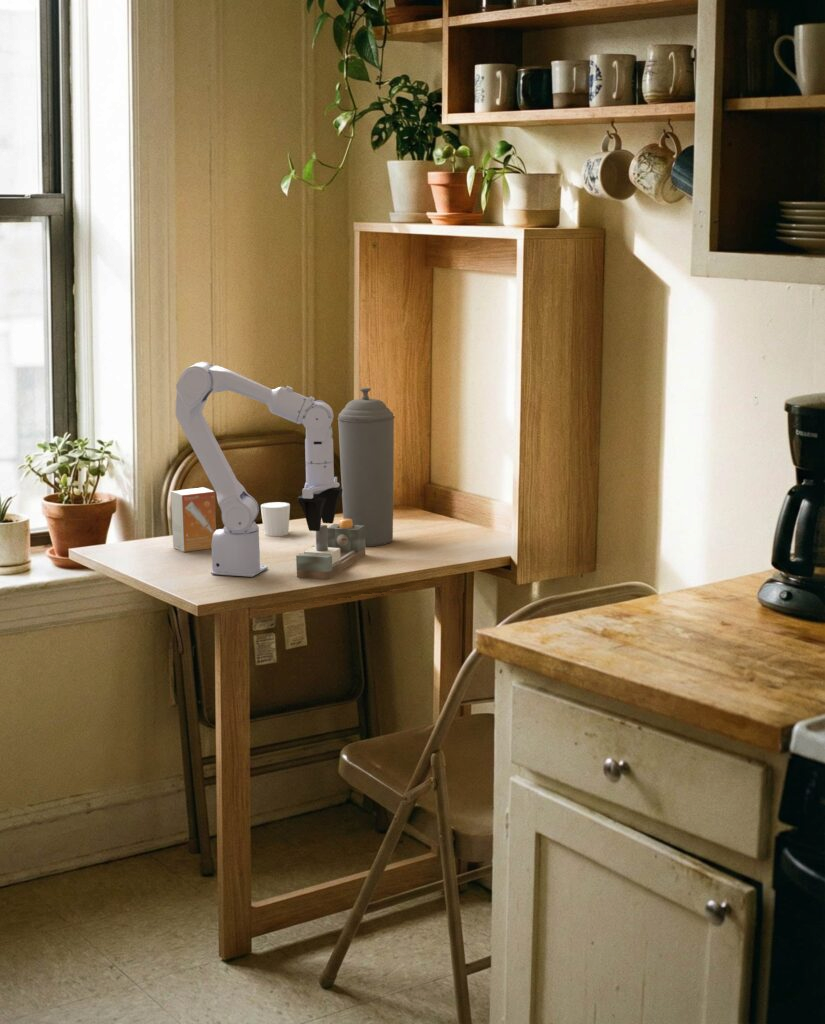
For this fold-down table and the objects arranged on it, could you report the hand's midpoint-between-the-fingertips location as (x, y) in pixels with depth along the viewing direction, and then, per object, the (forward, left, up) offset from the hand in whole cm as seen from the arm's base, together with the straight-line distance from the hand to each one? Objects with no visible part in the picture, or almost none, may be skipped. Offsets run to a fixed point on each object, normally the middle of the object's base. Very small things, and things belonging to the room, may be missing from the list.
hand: (321, 526), depth 278 cm
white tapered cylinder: (-24, +32, -10) cm, 41 cm away
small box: (-36, +14, -10) cm, 40 cm away
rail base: (0, +6, -10) cm, 11 cm away
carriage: (0, 0, -7) cm, 7 cm away
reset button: (0, +14, -5) cm, 15 cm away
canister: (0, +29, -10) cm, 30 cm away
